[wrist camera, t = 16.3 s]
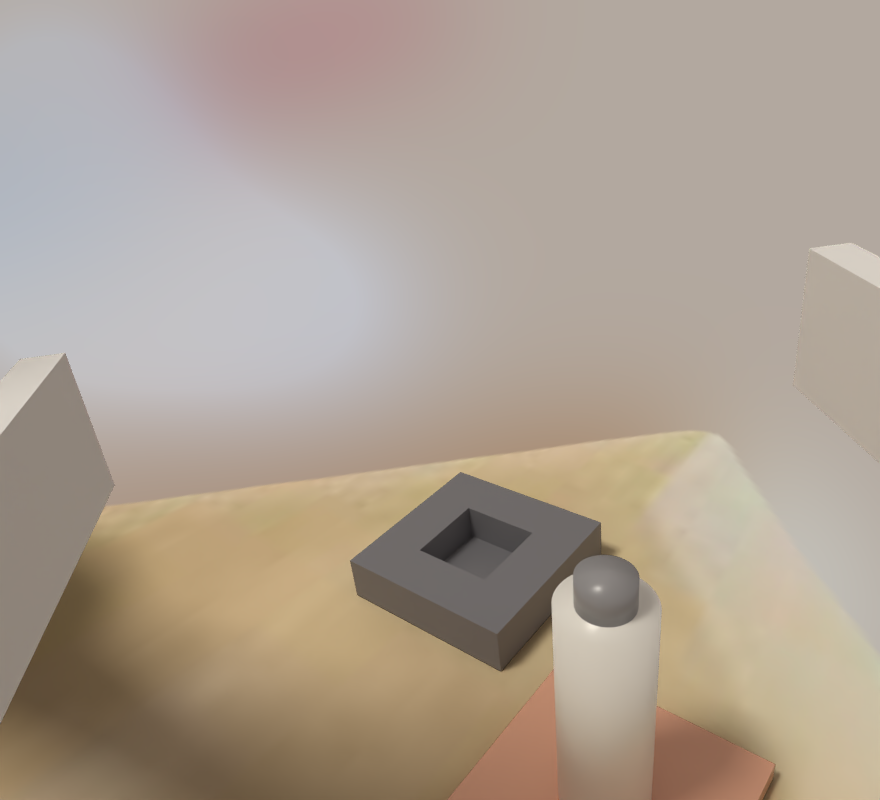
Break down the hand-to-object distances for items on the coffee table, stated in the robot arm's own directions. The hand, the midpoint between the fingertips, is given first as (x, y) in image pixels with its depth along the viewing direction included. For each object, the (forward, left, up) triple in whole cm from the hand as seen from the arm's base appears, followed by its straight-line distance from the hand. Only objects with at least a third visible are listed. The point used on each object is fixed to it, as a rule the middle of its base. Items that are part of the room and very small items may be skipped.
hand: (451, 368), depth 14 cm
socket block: (-19, +22, -30) cm, 41 cm away
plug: (-4, +12, -29) cm, 31 cm away
